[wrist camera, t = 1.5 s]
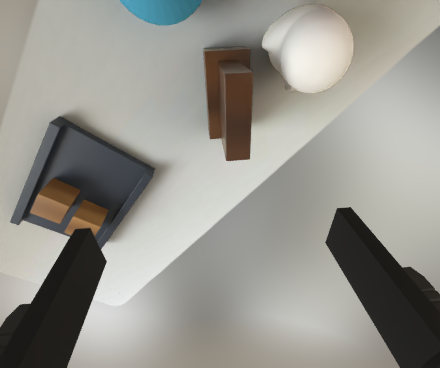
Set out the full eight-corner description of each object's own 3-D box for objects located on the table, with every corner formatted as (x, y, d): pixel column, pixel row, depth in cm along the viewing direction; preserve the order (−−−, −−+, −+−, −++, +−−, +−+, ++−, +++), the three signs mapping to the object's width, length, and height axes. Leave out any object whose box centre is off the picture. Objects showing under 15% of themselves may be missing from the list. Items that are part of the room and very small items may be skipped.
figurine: (247, 39, 27) (277, 47, 17) (305, -11, 25) (376, -34, 15) (276, 89, 31) (314, 119, 21) (329, 49, 29) (399, 61, 19)
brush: (203, 48, 27) (207, 60, 18) (244, 46, 28) (270, 57, 18) (208, 129, 33) (213, 170, 24) (243, 126, 33) (262, 167, 24)
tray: (59, 116, 30) (49, 122, 28) (155, 168, 36) (152, 177, 34) (19, 212, 38) (9, 222, 36) (102, 242, 44) (98, 253, 42)
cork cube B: (84, 199, 37) (73, 216, 33) (108, 209, 38) (100, 227, 35) (75, 215, 38) (63, 232, 35) (99, 224, 40) (90, 242, 37)
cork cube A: (53, 177, 34) (38, 193, 31) (81, 189, 36) (69, 206, 32) (44, 195, 36) (29, 212, 32) (71, 206, 37) (59, 224, 34)
